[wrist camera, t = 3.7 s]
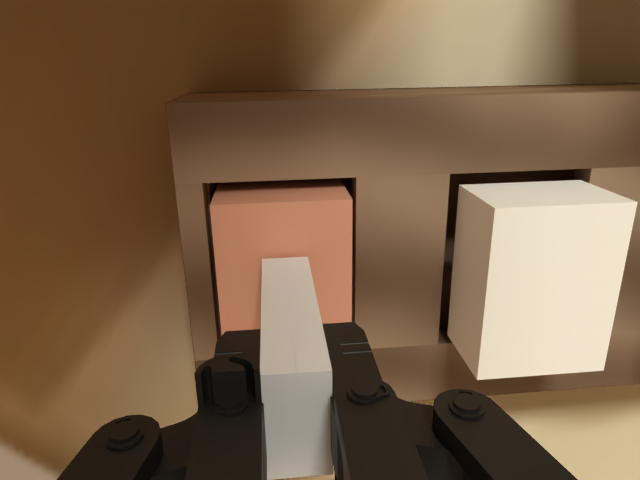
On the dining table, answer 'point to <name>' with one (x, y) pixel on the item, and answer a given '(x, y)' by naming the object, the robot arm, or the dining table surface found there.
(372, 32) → the dining table surface
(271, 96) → the key console
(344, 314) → the terracotta key
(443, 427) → the robot arm
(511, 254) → the ivory key
